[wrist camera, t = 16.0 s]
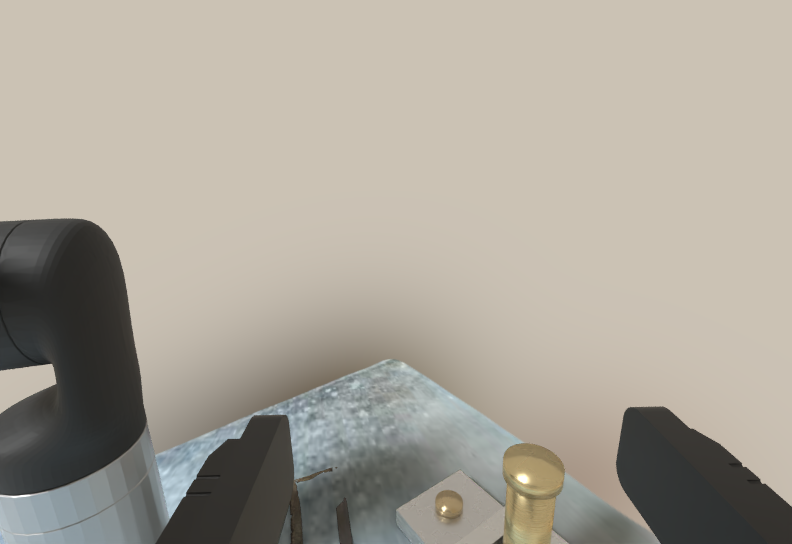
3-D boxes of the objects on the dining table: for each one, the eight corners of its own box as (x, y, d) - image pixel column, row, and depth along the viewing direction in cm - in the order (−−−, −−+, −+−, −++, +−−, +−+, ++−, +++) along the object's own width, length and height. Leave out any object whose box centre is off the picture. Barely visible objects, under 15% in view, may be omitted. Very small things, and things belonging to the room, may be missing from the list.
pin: (489, 612, 33) (498, 475, 29) (499, 564, 37) (508, 437, 33) (546, 637, 31) (563, 494, 27) (550, 584, 35) (566, 452, 31)
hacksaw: (371, 672, 30) (370, 659, 29) (225, 716, 28) (222, 702, 27) (341, 451, 52) (340, 441, 52) (259, 465, 50) (257, 455, 50)
